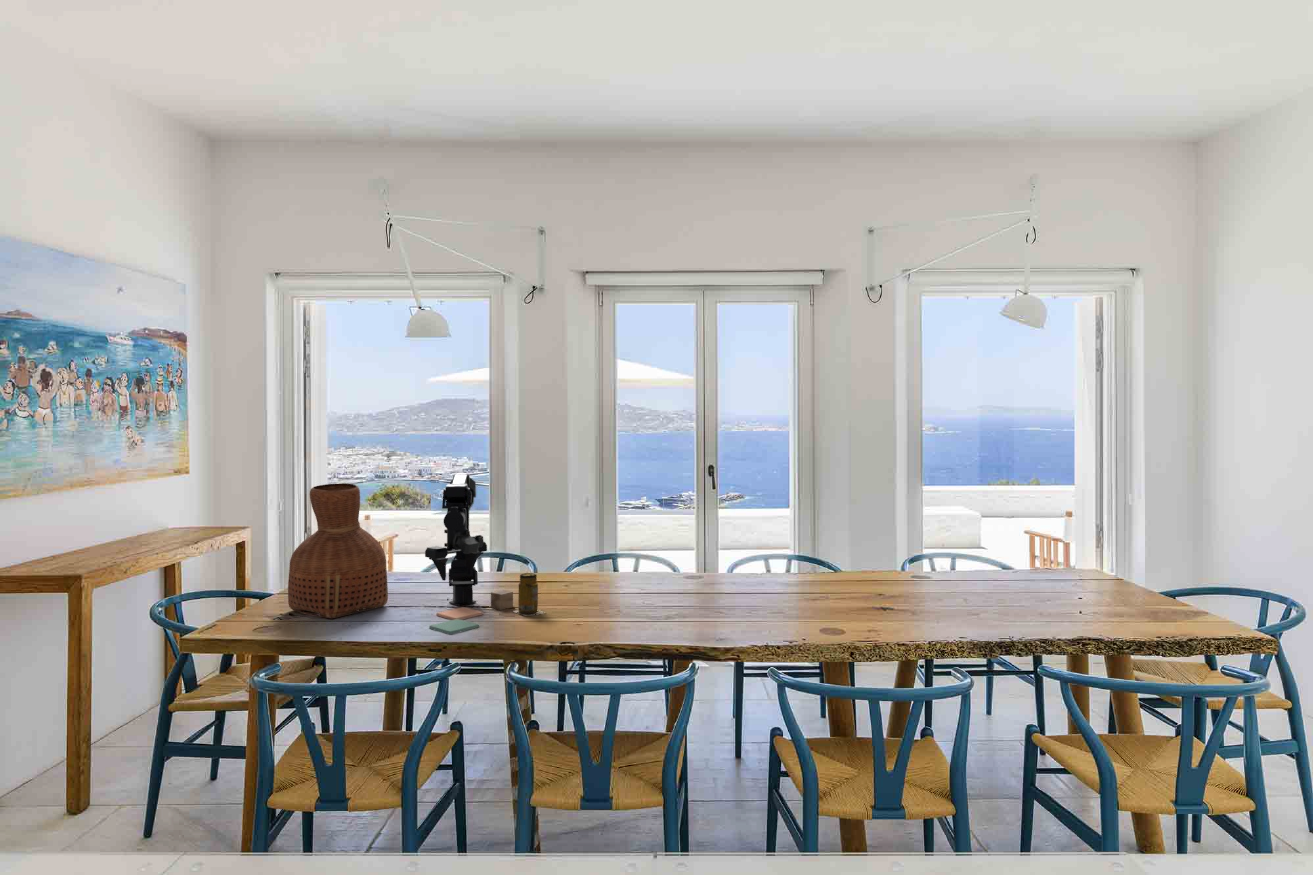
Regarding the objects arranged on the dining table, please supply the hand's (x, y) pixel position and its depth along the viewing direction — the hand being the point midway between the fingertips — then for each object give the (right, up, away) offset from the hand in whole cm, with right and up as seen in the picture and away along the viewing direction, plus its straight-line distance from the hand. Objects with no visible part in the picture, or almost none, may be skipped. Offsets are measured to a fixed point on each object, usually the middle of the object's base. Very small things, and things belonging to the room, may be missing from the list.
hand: (456, 577), depth 230 cm
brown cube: (+10, -13, +17) cm, 24 cm away
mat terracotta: (-1, -13, +7) cm, 15 cm away
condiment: (+20, -13, +10) cm, 26 cm away
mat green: (+1, -13, -8) cm, 15 cm away
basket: (-41, -13, +14) cm, 46 cm away
